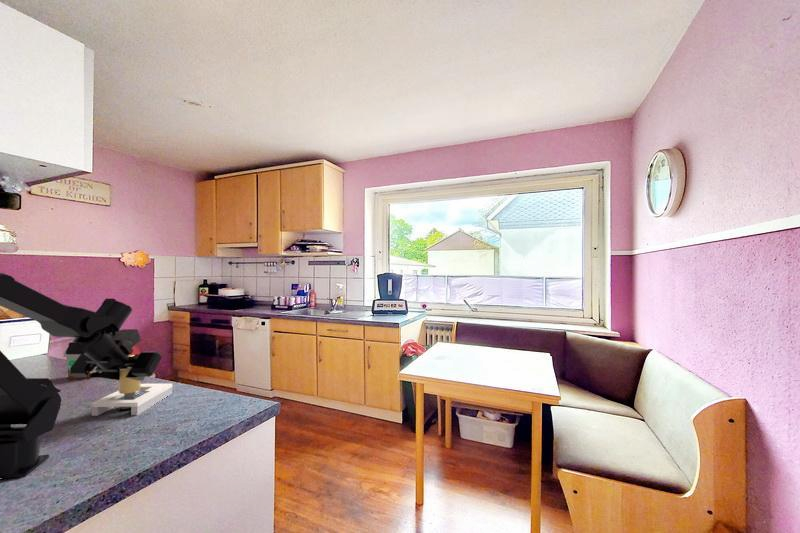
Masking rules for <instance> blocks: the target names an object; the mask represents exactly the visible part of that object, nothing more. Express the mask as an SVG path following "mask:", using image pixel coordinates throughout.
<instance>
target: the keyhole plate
mask: <svg viewBox="0 0 800 533" xmlns="http://www.w3.org/2000/svg"><path fill="white" fill-rule="evenodd" d="M140 391H144V394H142V395H140V396H138V395H137V394H139V392H140ZM171 394H172V395H173V383H141V386H140V390H139V391H136V392H135V395H137V397H138V398H136V399H134V400H122V399H124V394H121V393H119V390H117V391H115V392H113V393H111V394H108V395H106V396H104V397H102V398H100V399H98V400H95V401H93V402H91V416H92V417H93V416H95V417H96V416H97V417H98V416H100V415H101V414H104V413H105V412H106V413H107V412H108V411H110V410H112V409H113V408H115V407H116V408H119V407H131V408H130V409H131V410H130V412H131V413H130V415H131V416H139V415H140V414H141V413H143V412H145V411H147V410H149V409H150V408H152V407H153V406H155V405H157V404H158V403H160V402H162V401H163V400H165V399H167V398H168V397H170V396H172V395H171ZM169 395H170V396H169ZM167 396H168V397H167ZM166 397H167V398H166ZM164 398H165V399H164ZM162 399H163V400H162ZM161 400H162V401H161ZM159 401H160V402H159ZM157 402H158V403H157ZM156 403H157V404H156ZM154 404H155V405H154ZM151 406H152V407H151Z"/></svg>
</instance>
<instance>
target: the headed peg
mask: <svg viewBox="0 0 800 533" xmlns="http://www.w3.org/2000/svg"><path fill="white" fill-rule="evenodd" d="M134 355H135V354H129V355H128V356H129V357H133V356H134ZM129 371H130V370H129V368H127V369H126V370H120V380H119V382H118V383H119V385H118V386H119V388H118V391H119V393H121V394H124V399H122V400H134V399H136V398H138V397H139V396H135V392H136V391H139V390H140V386H141V384H142V381H139V380H134V379H130V378H126V376H127V374H128V372H129ZM140 391H141V390H140ZM140 391H139V392H140ZM118 409H119V410H125V409H127V410H128V409H131V407H118Z"/></svg>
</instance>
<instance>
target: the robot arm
mask: <svg viewBox="0 0 800 533" xmlns="http://www.w3.org/2000/svg"><path fill="white" fill-rule="evenodd" d="M0 307H3V308H5V309H7V310H10V311H12V312H13V313H17V314H19V315H22V316H23V317H26V318H29V319H31V320H34V321H36V322H38V323H39V324H40V327H41V329H42V330H43V331H45V332H46V333H48V334H50V336H52V337H54V338H73V340H72V341H71V342H69V343H68V346H67V349H66V348H65V350H66V354H67V355H80V356H79V357H78V359H77V360H76V361H75V363H74V364H73V365H72V367H71V368H70V374H72V375H73V376H74V377H86V376H87V375H88V374H89V373H88V372H90V373H92V374H91V375H90V377H91V378H92V379H102V380H110V381H111V380H112V381H119V380H120V370H126V369H127V368H129V370H130V371H129V372H128V374H127V376H126V378H130V379H134V380H139V381H141V382H143V381H144V380H145V377H146V378H149V377H151V376H152V375H153V374H154V372H155V371H156V369H157V368H158V365H159V364H160V361H161V360H162V357H163V356H162V354H161V353H160V352H159V351H158V350H155V351H154V350H153V351H152V350H148V351H147V350H144V351H141V352H140V353H137V354H132V353H133V352H134V349H133V348H134V346H136V345H137V344H138V343H140V342H141V341H142V338H141V335H140V333H139V330H138V329H130V328H129V329H127V328H126V329H124V328H123V329H121V328H122V326H123V325H124V323H125V322H126V321H127V320H128V319H129V316H131V314H132V312H133V309H132V307H131V306H130V305H128V304H126V303H124V302H121V301H118V300H117V299H115V298H109V297H108V298H105V299H104V300H103V302H102V303H101V305H100V306H99V307H98V309H97V310H96V311H92V310H90V309H86V308H83V307H78V306H77V307H76V306H70V305H67V304H63V303H61V302H59V301H58V300H55V299H54V298H51V297H49V296H47V295H45V294H43V293H42V292H40V291H37V290H36V289H33V288H32V287H29V286H28V285H26V284H23V283H22V282H20V281H18V280H15V278H14V277H13V276H12V275H9V274H6V273H3V272H2V273H1V272H0ZM129 355H134V356H133V357H129ZM90 366H91V367H90ZM61 391H62V390H61V389H59V388H57V387H56V386H55V385H54V382H53V381H52V380H51V379H49V378H48V377H45V378H44V377H38V378H36V377H35V378H33V377H32V378H31V377H29V378H27V377H26V375H24V374H23V373H22V372H21V371H20V370H19V369H18V368H17V367H16V366H15V364H14V363H13V362H12V361H11V360H10V359H9V358H8V356H6V355H5V353H3V352H2V350H0V478H9V477H11V478H9V479H13V478H12V477H16V478H20V477H21V478H22V477H25V476H28V474H30V473H31V472H33V470H35V469H36V468H37V467H39V466H40V465H41V464H43V463H44V462H45V461H46V460H48V459H49V458H50V454H41V455H40V446H41V444H40V441H41V436H43V435H45V434H46V433H49V432H50V431H53V429H54V427H55V424H56V420H57V418H58V416H59V412H60V410H61V405H62V397H61V395H60V394H59V393H61ZM12 425H25V426H12Z"/></svg>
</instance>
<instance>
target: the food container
mask: <svg viewBox="0 0 800 533" xmlns="http://www.w3.org/2000/svg"><path fill="white" fill-rule="evenodd" d="M67 348H68V347H67ZM67 348H65V350H64V352H63V357H65V359H66V365H67V367H66V368H67V377H68V380H69V381H74V380H77V381H85V379H87V380H91V377H90V375H91V374H92V373H90V372H88V373H89V374H88V375H87V376H86V377H74V376H73V375H72V374H70V368H71V367H72V365H73V364H74V363H75V361H76V360H77V359H78V357H79V356H80V355H67V354H66V349H67ZM90 367H91V366H90Z"/></svg>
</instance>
